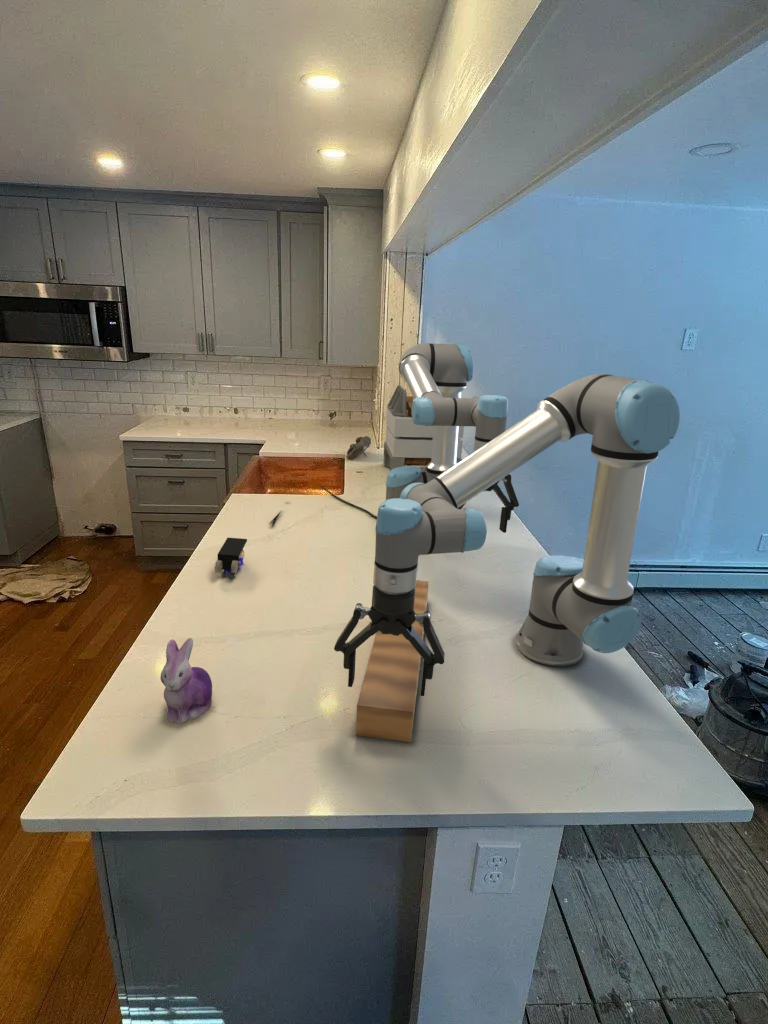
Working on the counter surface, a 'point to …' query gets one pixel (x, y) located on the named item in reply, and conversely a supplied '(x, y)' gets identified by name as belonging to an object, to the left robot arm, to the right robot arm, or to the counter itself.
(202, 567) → the counter surface
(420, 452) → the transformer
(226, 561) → the figurine character
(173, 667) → the figurine
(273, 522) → the feather
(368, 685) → the thick board
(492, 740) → the counter surface
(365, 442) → the fossil
